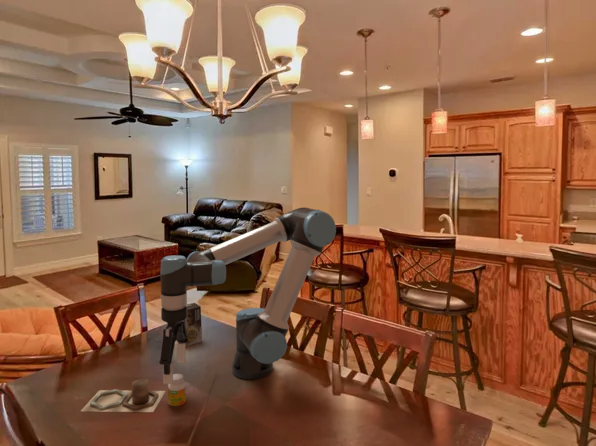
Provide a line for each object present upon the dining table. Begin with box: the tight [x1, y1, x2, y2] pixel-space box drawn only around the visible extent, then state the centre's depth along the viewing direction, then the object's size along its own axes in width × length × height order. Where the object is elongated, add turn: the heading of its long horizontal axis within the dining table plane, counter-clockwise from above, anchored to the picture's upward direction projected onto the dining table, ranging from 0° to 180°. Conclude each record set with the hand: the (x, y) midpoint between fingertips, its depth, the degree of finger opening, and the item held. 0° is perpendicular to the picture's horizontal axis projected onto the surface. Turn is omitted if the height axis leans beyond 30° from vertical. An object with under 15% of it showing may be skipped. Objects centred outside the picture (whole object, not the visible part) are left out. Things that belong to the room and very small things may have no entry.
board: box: [80, 388, 167, 413], centre depth 131 cm, size 22×12×2 cm, turn 90°
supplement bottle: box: [167, 373, 187, 407], centre depth 130 cm, size 5×5×10 cm
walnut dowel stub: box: [131, 378, 150, 405], centre depth 130 cm, size 5×5×6 cm
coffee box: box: [176, 302, 203, 347], centre depth 177 cm, size 9×6×16 cm
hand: (175, 372), depth 129 cm, fingers open, 13 cm apart
